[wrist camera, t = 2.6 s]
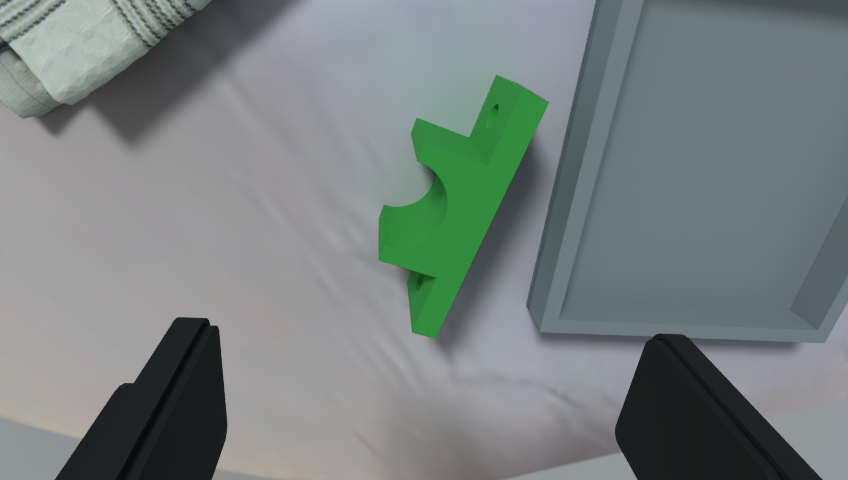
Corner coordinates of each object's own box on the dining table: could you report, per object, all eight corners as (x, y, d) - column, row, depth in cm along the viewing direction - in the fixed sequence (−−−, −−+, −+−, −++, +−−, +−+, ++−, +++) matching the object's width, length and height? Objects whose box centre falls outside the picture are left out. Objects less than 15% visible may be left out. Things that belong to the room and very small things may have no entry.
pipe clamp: (440, 51, 21) (456, 62, 17) (517, 83, 22) (550, 100, 18) (359, 268, 25) (355, 319, 21) (426, 287, 26) (436, 340, 22)
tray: (967, -32, 21) (1037, -36, 19) (789, 316, 29) (824, 343, 26) (615, -83, 19) (646, -94, 17) (526, 304, 27) (539, 332, 25)
